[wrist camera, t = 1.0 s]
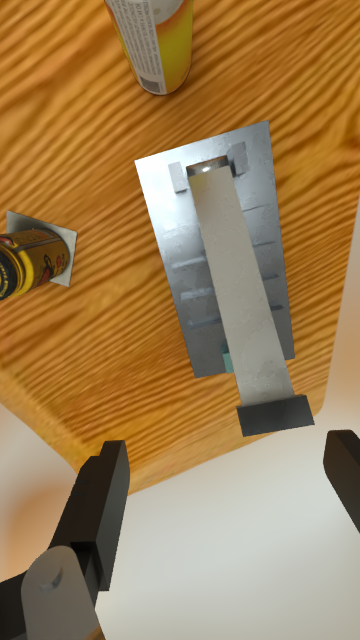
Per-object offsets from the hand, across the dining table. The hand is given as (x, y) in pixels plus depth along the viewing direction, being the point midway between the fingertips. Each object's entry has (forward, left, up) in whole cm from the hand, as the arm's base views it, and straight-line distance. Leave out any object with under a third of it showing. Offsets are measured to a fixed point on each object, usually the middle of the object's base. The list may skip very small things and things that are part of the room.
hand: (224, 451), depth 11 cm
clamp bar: (-3, -2, -16) cm, 16 cm away
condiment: (+19, -9, -27) cm, 34 cm away
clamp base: (-3, -1, -27) cm, 27 cm away
